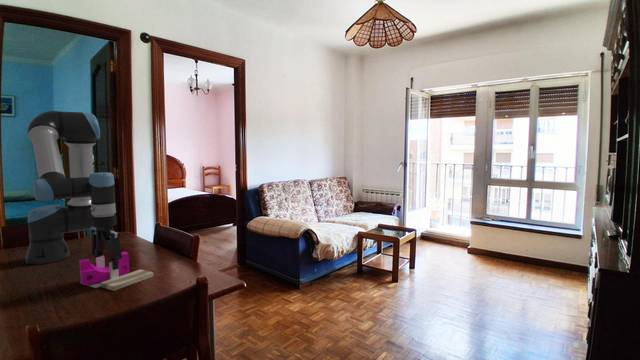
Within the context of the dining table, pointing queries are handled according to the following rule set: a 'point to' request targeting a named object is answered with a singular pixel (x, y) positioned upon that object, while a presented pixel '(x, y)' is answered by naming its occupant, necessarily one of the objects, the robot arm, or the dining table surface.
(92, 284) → the mat
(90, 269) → the toy block
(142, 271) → the board
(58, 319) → the dining table surface
